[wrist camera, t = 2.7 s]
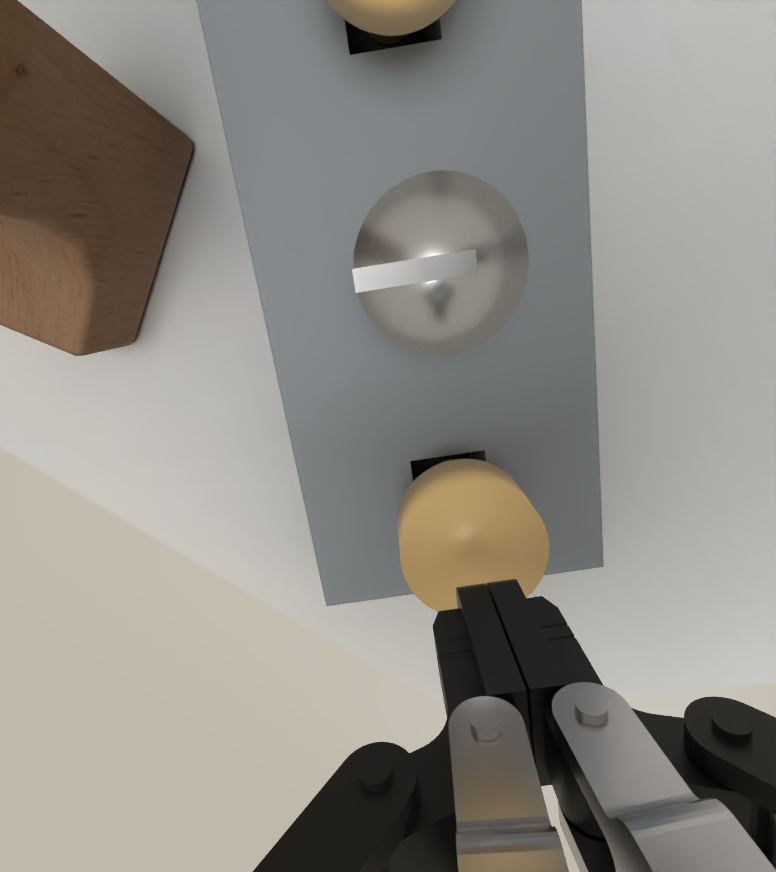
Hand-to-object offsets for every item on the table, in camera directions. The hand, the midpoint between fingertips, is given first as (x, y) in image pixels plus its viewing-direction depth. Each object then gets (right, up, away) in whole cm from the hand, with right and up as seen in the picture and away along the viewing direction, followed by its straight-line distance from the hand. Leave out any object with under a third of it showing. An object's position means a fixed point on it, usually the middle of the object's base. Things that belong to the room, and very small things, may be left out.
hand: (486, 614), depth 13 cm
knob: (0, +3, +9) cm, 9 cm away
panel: (-1, +11, +10) cm, 15 cm away
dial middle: (-1, +11, +7) cm, 13 cm away
